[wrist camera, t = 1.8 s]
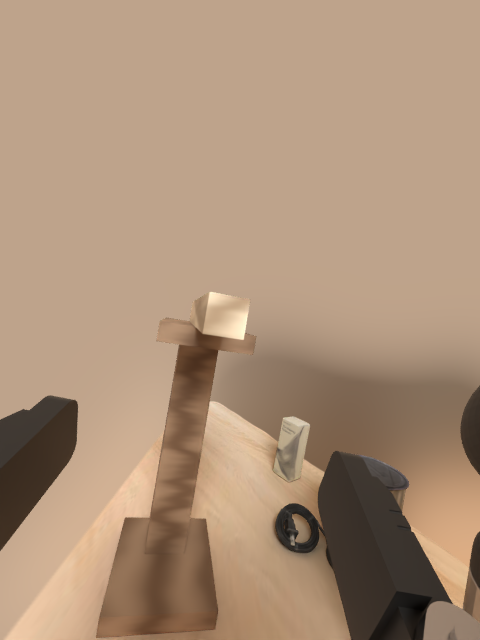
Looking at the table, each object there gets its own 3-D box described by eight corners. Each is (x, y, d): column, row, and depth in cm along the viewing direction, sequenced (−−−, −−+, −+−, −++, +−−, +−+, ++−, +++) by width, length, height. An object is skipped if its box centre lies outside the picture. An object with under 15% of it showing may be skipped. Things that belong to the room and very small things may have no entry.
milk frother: (408, 593, 39) (425, 487, 40) (307, 606, 35) (326, 487, 35) (344, 520, 53) (357, 441, 53) (266, 522, 49) (280, 437, 49)
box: (272, 471, 66) (281, 417, 66) (284, 467, 69) (293, 415, 69) (289, 483, 62) (299, 425, 62) (301, 479, 65) (311, 423, 65)
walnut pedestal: (203, 529, 45) (236, 329, 45) (215, 634, 30) (265, 337, 30) (123, 528, 42) (159, 316, 43) (94, 643, 28) (149, 319, 28)
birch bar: (208, 324, 44) (212, 305, 44) (243, 339, 21) (250, 299, 21) (189, 321, 44) (192, 302, 44) (202, 333, 20) (209, 291, 20)
